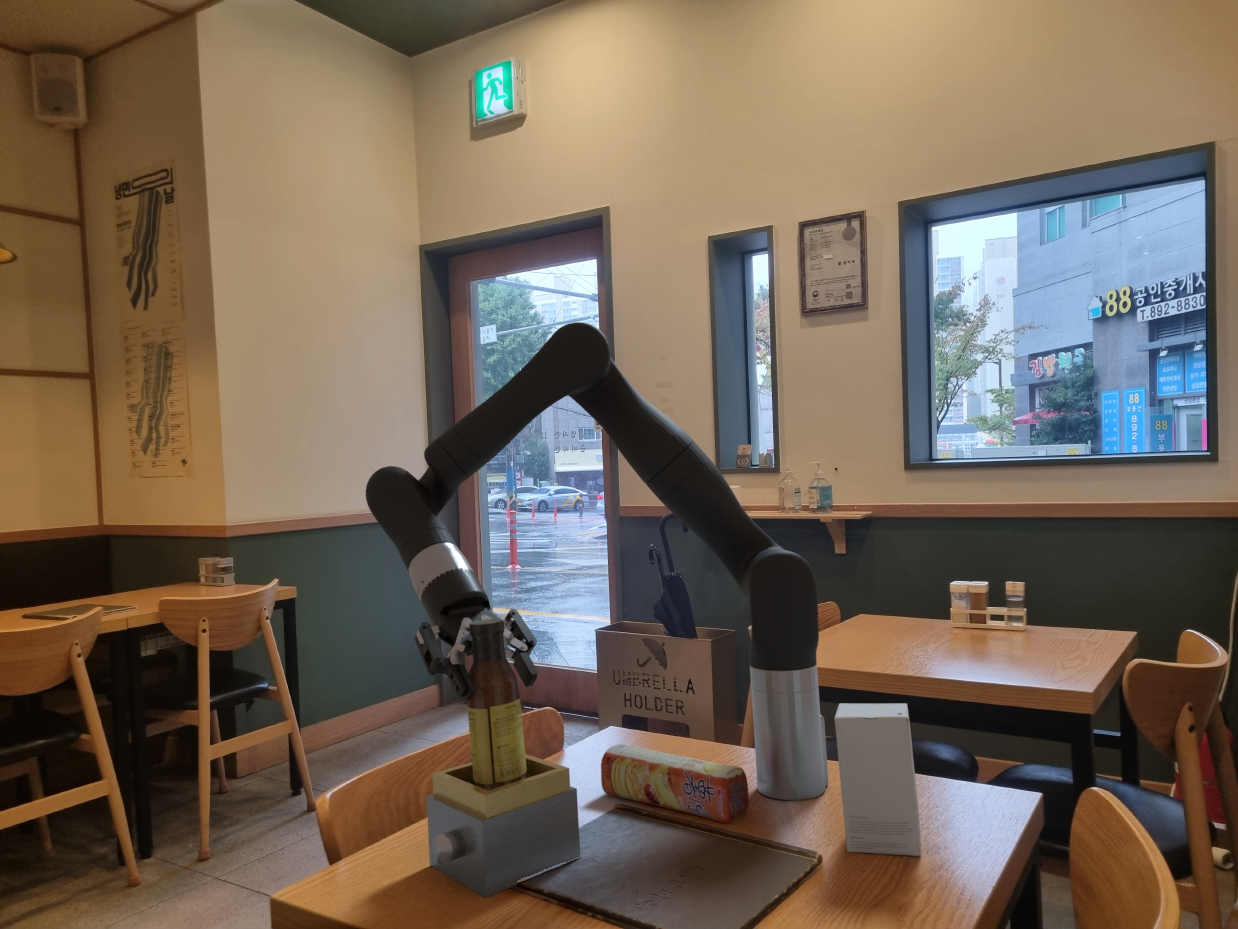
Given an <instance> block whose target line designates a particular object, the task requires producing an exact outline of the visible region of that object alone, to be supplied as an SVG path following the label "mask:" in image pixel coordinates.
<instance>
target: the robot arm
mask: <svg viewBox="0 0 1238 929" xmlns="http://www.w3.org/2000/svg"><path fill="white" fill-rule="evenodd" d="M611 354H612V352H611V346H610V344H609V342H608V338H607V337H606V335H605V334H604V333H603V332H602V331H601V330H600V329H599V328H597V327H596V326H595V325H593V324H590V323H588V322H580V321H579V322H576V321H575V322H570V323H566V324H565V325H563V326H560V327H559V328H558V329H557V330H555V332H553V334H552V335H551V336H550V337H549V339H548V340H546V342H545V343H544V344H543V345H542V346H541V348H540V349H538V351H537V352H536V353H535V354H534V355H533V357H532V358H530V360H528V361H527V363H526V364H525V365H524V366H523V367H522V368H521V369H520V370H519V371H518V372H517V373H516V374H514V376H513V377H511V379H509V381H508V382H506V383H505V384H504V385H503V386H501V387H500V388H499V389H498V390H497V391H496V392H494V393H493V394H492V395H491V396H490V397H488V398H487V399H486V400H485V401H483V402H482V403H480V404H478V405H477V407H475V408H474V409H473V410H471V411H470V412H468V413H467V414H466V415H464V416H463V417H462V418H461V419H460V420H458V421H457V422H456V423H454V424H453V425H452V426H451V427H449V428H448V429H446V430H445V431H444V432H443V433H442V434H441V435H439V436H438V438H435V439H434V440H433V441H432V442H431V443H429V445H428V446H426V447H425V449H424V452H423V457H424V460H425V462H426V465H427V466H428V467H427V469H426V471H425V472H424V473H423V474H422V476H421V477H420V478H419V479H417V478H416V477H415V476H414V475H413V474H411V473H410V471H408V470H406V469H405V468H402V467H400V466H395V465H389V466H384V467H381V468H379V469H377V470H376V471H374V473H372V474H371V476H370V477H369V479H368V481H367V484H366V485H365V486H366V487H365V501H366V504H367V507H368V508H369V510H370V512H371V514H372V515H373V517H374V518H375V520H376V521H377V523H378V524H379V526H380V528H382V530H383V531H384V533H385V534H386V535H387V536H388V538H389V539H390V540H391V542H392V543H393V544H394V546H395V547H396V549H397V550H398V554H399V556H400V558H401V560H402V562H403V564H404V566H405V568H406V570H407V572H408V574H409V576H410V579H411V582H412V583H411V584H412V585H413V588H414V590H415V592H416V594H417V597H418V598H419V600H420V603H421V605H422V607H423V609H424V610H425V613H426V614H427V616H428V619H429V620H430V622H431V624H432V626H431V624H430V623H429V622H427V621H424V622H421V623H420V625H419V627H418V630H417V632H416V634H415V637H414V642H415V643H416V647H417V649H418V651H419V653H420V656H421V659H422V661H423V663H424V666H425V668H426V671H427V673H428V675H431V676H432V677H433V676H437V675H438V674H443V676H445V677H447V678H448V680H449V682H450V684H451V685H452V687H453V689H454V691H455V693H456V695H457V696H458V698H462V700H463V702H468V700H471V699H472V697H473V695H474V694H475V691H476V689H475V686H474V684H473V682H472V680H471V678H470V676H469V674H468V673H469V671H468V670H467V668H466V666H465V665H464V664H463V663H461V660H462V656H463V655H466V656H467V657H469V656H473V643H472V636H471V634H470V626H469V624H470V623H471V622H473V621H477V620H484V619H503V621H504V628H505V630H504V633H503V636H504V648H505V652H506V654H505V656H506V658H507V660H508V661H511V662H513V665H512V666H514V668H515V670H516V672H517V674H518V676H519V678H520V680H521V682H522V684H523V685H524V687H526V688H529V687H532V686H534V683H535V682H536V680H537V679H538V674H539V673H538V672H539V671H538V669H537V667H536V665H535V663H534V662H533V660H532V659H531V654H532V652H533V650H534V648H535V647H536V645H537V643H538V641H537V638H536V637H535V636H534V634H533V632H532V631H531V629H530V628H529V626H528V625H527V623H526V622H525V620H524V619H523V617H522V616H521V614H520V612H519V611H518V610H517V609H516V608H510V609H509V611H508V612H507V613H505V614H501V615H498V613H496V612H494V610H492V607H491V603H490V599H489V596H488V594H487V592H486V591H485V589H484V587H483V586H482V584H481V582H480V580H479V579H478V577H477V574H476V573H475V571H474V570H473V568H472V566H471V565H470V562H469V560H468V559H467V558H466V556H465V555H464V554H463V553H462V552H461V550H460V549H459V547H458V546H457V543H456V542H455V540H454V538H453V537H452V534H451V533H450V531H449V530H448V528H447V527H446V525H445V524H444V523H443V521H441V520H440V519H439V518H438V516H439V514H440V513H441V512H442V511H443V509H444V508H445V507H446V505H447V504H448V503H449V501H450V500H451V499H452V497H454V495H455V494H456V492H457V491H458V490H459V488H460V486H461V485H462V484H463V483H464V482H465V481H466V480H468V479H469V478H470V477H472V476H473V475H474V474H476V473H477V472H479V470H481V469H482V468H483V467H485V466H486V465H487V464H488V463H489V462H490V461H492V460H493V459H494V458H495V457H496V456H498V455H499V454H500V453H501V452H502V451H503V450H504V449H505V448H506V447H507V446H508V445H509V444H510V443H511V442H512V441H513V440H514V439H515V438H516V437H517V436H518V435H519V434H520V433H521V432H522V431H523V430H524V429H525V428H526V427H528V425H529V424H530V423H531V422H532V421H534V419H536V418H537V417H538V416H539V415H541V414H542V413H543V412H544V411H546V410H547V409H548V408H550V407H551V406H552V405H555V403H557V402H559V401H560V400H562V399H564V398H565V397H567V396H568V397H570V398H571V399H572V400H573V401H574V402H575V403H576V404H578V405H579V406H580V407H581V408H582V409H583V410H584V411H585V412H586V413H587V414H588V415H589V416H590V417H591V418H593V419H594V421H596V423H597V424H598V425H599V426H600V427H601V428H602V429H603V431H604V432H605V433H606V434H607V436H608V437H609V438H610V439H611V441H612V443H613V444H614V445H615V447H616V448H617V449H618V451H619V452H620V454H621V455H622V456H623V458H624V459H625V460H626V462H627V463H628V465H630V467H631V468H632V470H634V472H635V473H636V475H637V476H638V477H639V478H640V480H641V481H642V482H643V483H644V484H645V485H646V486H647V488H649V490H650V491H651V492H652V493H653V494H654V496H656V498H657V499H658V500H659V501H660V502H661V503H662V504H663V505H664V506H665V507H666V508H667V509H668V511H670V512H671V513H672V514H673V515H674V516H675V517H676V518H677V519H678V521H680V522H681V523H682V524H683V525H684V526H686V528H688V529H689V530H690V531H691V532H692V533H693V534H694V535H696V536H697V537H698V538H699V539H700V540H701V541H702V542H703V543H704V544H705V545H706V546H708V548H709V549H710V550H711V551H712V552H713V554H715V556H716V557H717V558H718V560H720V562H721V563H722V565H723V566H724V567H725V568H726V570H727V571H728V573H729V574H730V575H731V577H732V578H733V580H734V581H735V583H736V584H737V585H738V587H739V589H740V590H741V591H742V593H743V595H744V596H745V597H746V599H747V600H748V601H749V605H750V606H749V607H750V622H751V624H750V625H751V626H750V627H751V636H750V637H751V639H750V643H749V645H748V646H749V647H748V658H749V673H750V674H749V675H750V687H751V688H750V689H751V701H752V702H751V703H752V704H751V705H752V720H753V736H754V738H753V739H754V752H755V768H756V770H755V771H756V784H757V790H758V792H759V793H760V794H762V795H764V796H766V797H769V798H773V799H777V800H785V801H800V800H808V799H813V798H816V797H818V796H821V795H822V794H823V793H824V792H825V791H826V786H828V785H829V768H828V756H827V755H828V754H827V742H826V739H827V738H826V727H825V726H826V725H825V717H824V716H823V715H822V714H821V707H820V706H821V705H820V704H821V703H820V691H819V690H820V689H819V677H818V662H817V661H818V660H817V650H818V646H819V640H820V634H819V633H820V629H819V606H818V605H819V604H818V588H817V583H816V582H817V581H816V577H815V573H814V571H813V568H812V566H811V564H809V562H808V561H807V560H806V559H805V558H804V557H802V556H801V555H800V554H799V553H795V552H793V551H790V550H786V549H784V548H783V547H782V546H781V545H779V544H778V543H777V542H776V541H775V540H773V539H772V538H771V537H770V536H769V535H768V534H767V533H766V532H765V531H764V530H763V529H762V528H761V527H760V526H759V525H758V524H757V523H756V522H755V521H754V520H753V519H752V518H751V517H750V516H749V514H748V513H747V512H746V511H745V510H744V508H743V506H742V505H741V503H740V502H739V500H738V498H737V496H736V494H735V493H734V491H733V489H732V488H731V487H730V485H729V483H728V482H727V480H726V479H725V477H724V475H723V473H721V471H720V470H719V469H718V467H717V466H716V464H715V463H714V461H712V460H711V458H710V457H709V455H707V454H706V453H705V451H703V449H702V448H701V447H700V446H699V445H698V444H697V443H696V442H695V441H694V439H693V438H692V437H691V436H690V435H689V434H688V433H687V432H686V431H684V430H683V429H682V428H681V426H680V425H678V424H677V423H676V422H675V421H673V420H672V419H671V418H670V417H669V416H667V415H666V414H665V413H663V412H661V410H659V409H658V408H657V407H655V406H654V405H653V404H652V403H650V402H649V401H648V400H647V399H645V398H644V397H643V396H642V395H641V394H640V393H639V392H638V391H637V390H636V389H635V387H634V386H633V385H632V384H631V382H630V381H629V380H628V378H627V377H626V376H625V374H623V372H622V371H621V370H620V368H619V367H618V365H617V364H616V362H615V361H614V360H613V358H612V356H611ZM438 639H439V640H440V641H442V642H443V643H444V644H446V645H448V646H449V647H450V648H449V651H448V654H447V657H445V656H444V655H443V654H444V653H443V651H442V650H441V647H440V645H439V643H438ZM513 649H514V650H513Z"/></svg>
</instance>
